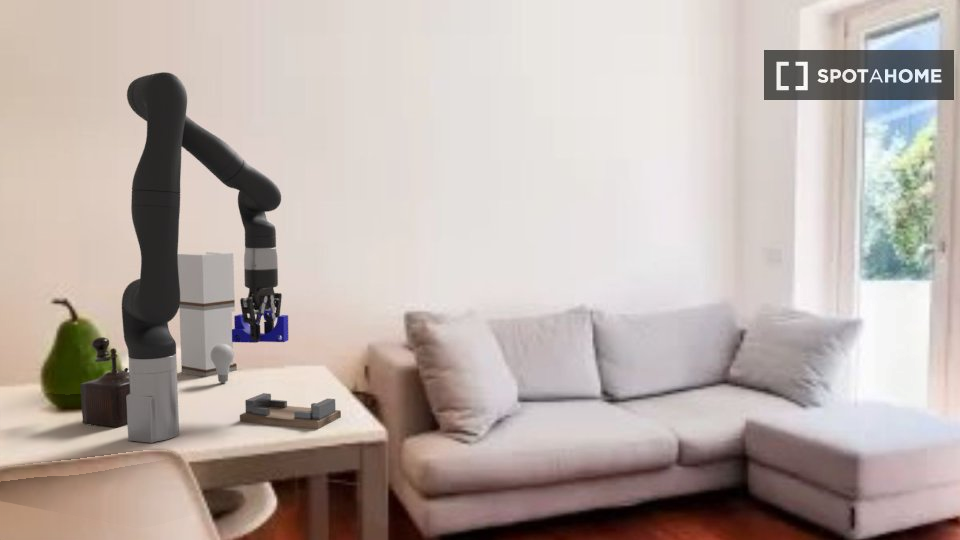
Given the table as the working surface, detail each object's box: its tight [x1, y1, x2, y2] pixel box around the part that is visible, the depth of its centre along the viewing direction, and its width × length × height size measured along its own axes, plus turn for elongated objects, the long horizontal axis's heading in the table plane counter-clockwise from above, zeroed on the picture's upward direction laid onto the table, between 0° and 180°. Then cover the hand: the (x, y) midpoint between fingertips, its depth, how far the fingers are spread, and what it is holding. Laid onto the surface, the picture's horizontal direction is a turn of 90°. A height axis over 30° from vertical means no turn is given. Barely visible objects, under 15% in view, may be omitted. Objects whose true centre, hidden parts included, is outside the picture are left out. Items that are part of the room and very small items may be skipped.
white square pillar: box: [178, 251, 238, 378], centre depth 223 cm, size 11×11×35 cm
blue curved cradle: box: [232, 313, 289, 344], centre depth 179 cm, size 12×4×6 cm, turn 84°
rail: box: [239, 392, 342, 430], centre depth 172 cm, size 10×20×4 cm, turn 72°
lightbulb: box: [211, 344, 235, 384], centre depth 208 cm, size 6×6×11 cm
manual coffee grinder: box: [80, 336, 130, 429], centre depth 173 cm, size 16×11×18 cm
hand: (262, 338), depth 179 cm, fingers closed on blue curved cradle, 5 cm apart
